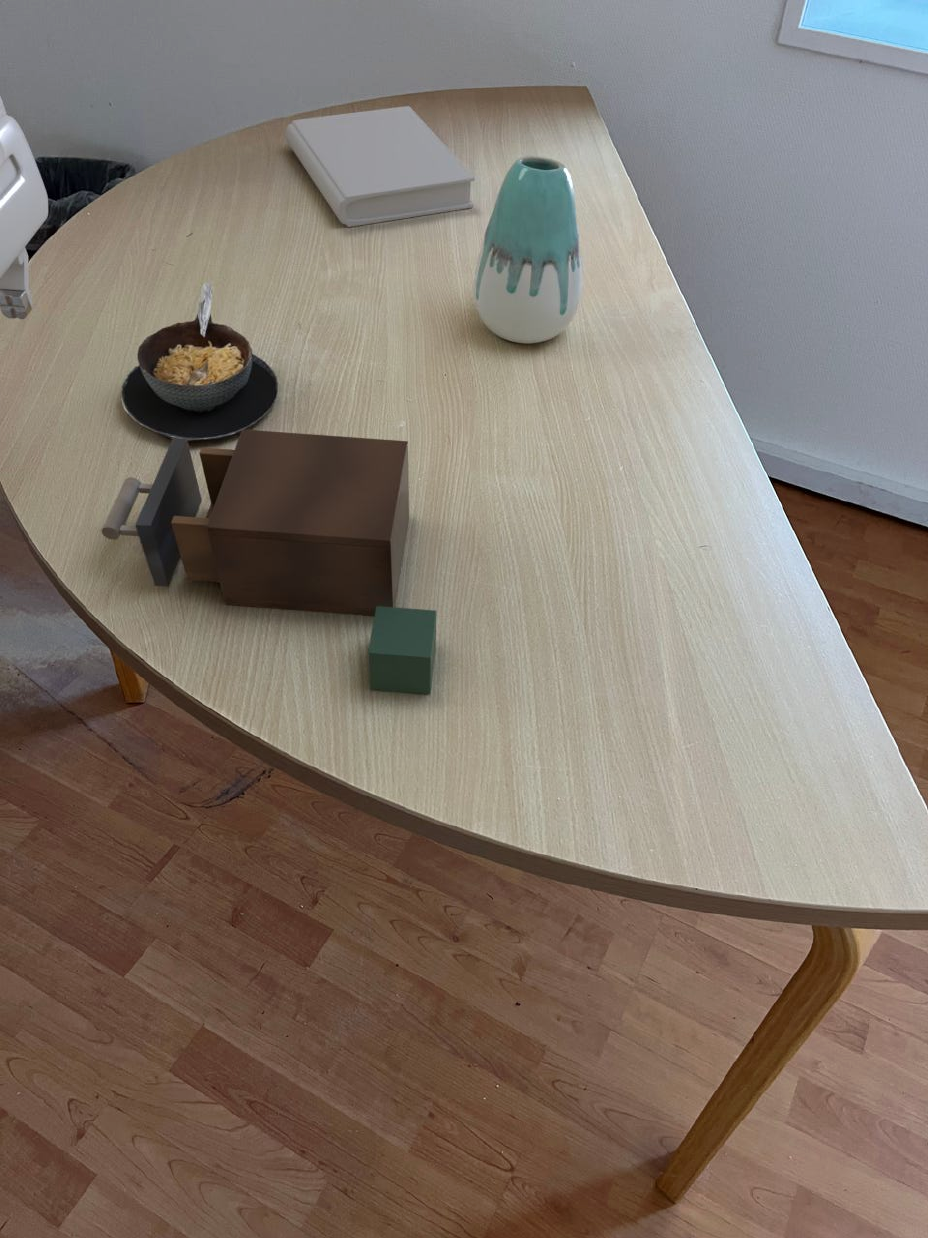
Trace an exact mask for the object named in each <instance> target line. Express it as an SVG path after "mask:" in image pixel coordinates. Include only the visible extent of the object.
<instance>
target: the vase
mask: <svg viewBox="0 0 928 1238" xmlns="http://www.w3.org/2000/svg"><path fill="white" fill-rule="evenodd" d="M579 235H580V234H579V229H578V222H577V208H576V197H575V190H574V183H573V180H572V177H571V174H570V172H569V170H568V168H567V167H566V166H565V164H564V163H562V162H561V161H558V160H556V159H552V158H548V157H544V156H536V155H526V156H522V157H519V158H518V159H516V160H515V161H514V163H513V164H512V165H511V166H510V168H509V169H508V171H507V172H506V175H505V176H504V178H503V180H502V183H501V185H500V188H499V190H498V193H497V196H496V198H495V203H494V206H493V209H492V213H491V216H490V218H489V221H488V223H487V226H486V229H485V232H484V236H483V239H482V242H481V243H482V244H481V247H480V251H479V254H478V256H477V260H476V265H475V269H474V274H473V275H474V276H473V283H472V284H473V285H472V289H473V300H474V305H475V308H476V311H477V314H478V315H479V317H480V319H481V321H482V322H483V324H484V325H485V326H486V328H488V330H489V331H491V332H492V333H493V334H494V335H496V336H497V337H499V338H501V339H503V340H506V341H509V342H512V343H517V344H539V343H542V342H545V341H549V340H551V339H553V338H556V337H557V336H558V335H560V334H561V333H562V332H563V331H564V330H566V329H567V328H568V326H569V325H570V324H571V323H572V321H574V320H573V319H574V318H575V317H576V315H577V312H578V310H579V307H580V304H581V300H582V297H583V296H582V295H583V287H584V286H583V282H584V281H583V280H584V278H583V277H584V276H583V274H584V273H583V272H584V271H583V259H582V252H581V248H580V236H579Z"/></svg>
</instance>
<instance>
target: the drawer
mask: <svg viewBox="0 0 928 1238" xmlns="http://www.w3.org/2000/svg"><path fill="white" fill-rule="evenodd" d="M188 441H189V440H188ZM188 441H187V439H184V438H173V439H171V442H170V444H169V446H168V448H167V451H166V452H165V455H164V458H163V460H162V462H161V465H160V467H159V469H158V471H157V473H156V476H155V478H154V481H153V483H142V482H141V480H139V479H138V478H137V477H127V478H125V480H124V481H123V484H122V485H121V487H120V490H119V492H118V494H117V495H116V496H117V497H116V499H115V501H114V503H113V505H112V506H111V509H110V512H109V513H108V515H107V517H106V520H105V522H104V524H103V526H102V528H101V535H102V536H103V537H104V538H106V539H108V540H113V541H115V540H118V539H119V538H120V536H127V537H128V536H130V537H138V538H139V542H140V544H141V548H142V552H143V553H144V557H145V560H146V563H147V566H148V569H149V573H150V575H151V578H152V580H153V585H154V587H162V588H169V587H170V586H171V582H172V580H173V577H174V575H175V573H176V570H177V567H178V564H179V562H180V559H181V563H182V566H183V570H184V573H185V577H186V580H189V581H201V582H216V583H220V581H219V577H218V573H217V569H216V565H215V561H214V556H213V552H212V548H211V544H210V540H209V536H208V531H207V525H208V522H209V519H210V516H211V514H212V511H213V508H214V505H215V503H216V500H217V497H218V494H219V492H220V489H221V486H222V483H223V481H224V478H225V475H226V472H227V470H228V467H229V464H230V462H231V459H232V456H233V453H234V451H235V449H232V448H231V449H229V448H216V447H204V446H203V447H201V448H200V450H199V452H198V453H199V457H200V462H201V466H202V470H203V476H204V479H205V484H206V488H207V492H208V496H209V500H210V505H209V508H208V510H207V514H206V515H205V517H198V516H197V514H198V512H199V509H200V506H201V504H202V502H203V500H202V495H201V491H200V486H199V483H198V479H197V473H196V470H195V468H194V467H195V466H194V462H193V457H192V454H191V450H190V446H189V442H188ZM139 494H147V497H146V498H145V501H144V503H143V506H142V508H141V511H140V512H139V514H138V517H137V518H136V522H135V524H134V525H128V524H126V523H127V521H128V519H129V518H130V517H129V516H130V514H131V512H132V510H133V508H134V506H135V503H136V501H137V499H138V496H139Z"/></svg>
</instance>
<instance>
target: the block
mask: <svg viewBox="0 0 928 1238" xmlns="http://www.w3.org/2000/svg"><path fill="white" fill-rule="evenodd" d="M436 649H437V610H433V609H420V608H409V607H405V608H404V607H396V606H395V607H382V606H376V611H375V616H373V622H372V629H371V634H370V639H369V645H368V651H367V657H368V670H369V672H368V673H369V684H370V685H369V686H370V690H371V691H378V692H379V691H381V692H393V693H404V694H405V693H407V694H419V695H431V694H432V683H433V675H434V667H435V666H434V665H435V658H436Z"/></svg>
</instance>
